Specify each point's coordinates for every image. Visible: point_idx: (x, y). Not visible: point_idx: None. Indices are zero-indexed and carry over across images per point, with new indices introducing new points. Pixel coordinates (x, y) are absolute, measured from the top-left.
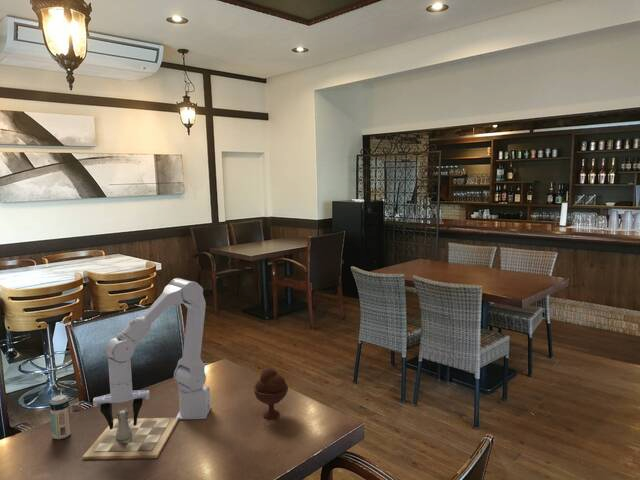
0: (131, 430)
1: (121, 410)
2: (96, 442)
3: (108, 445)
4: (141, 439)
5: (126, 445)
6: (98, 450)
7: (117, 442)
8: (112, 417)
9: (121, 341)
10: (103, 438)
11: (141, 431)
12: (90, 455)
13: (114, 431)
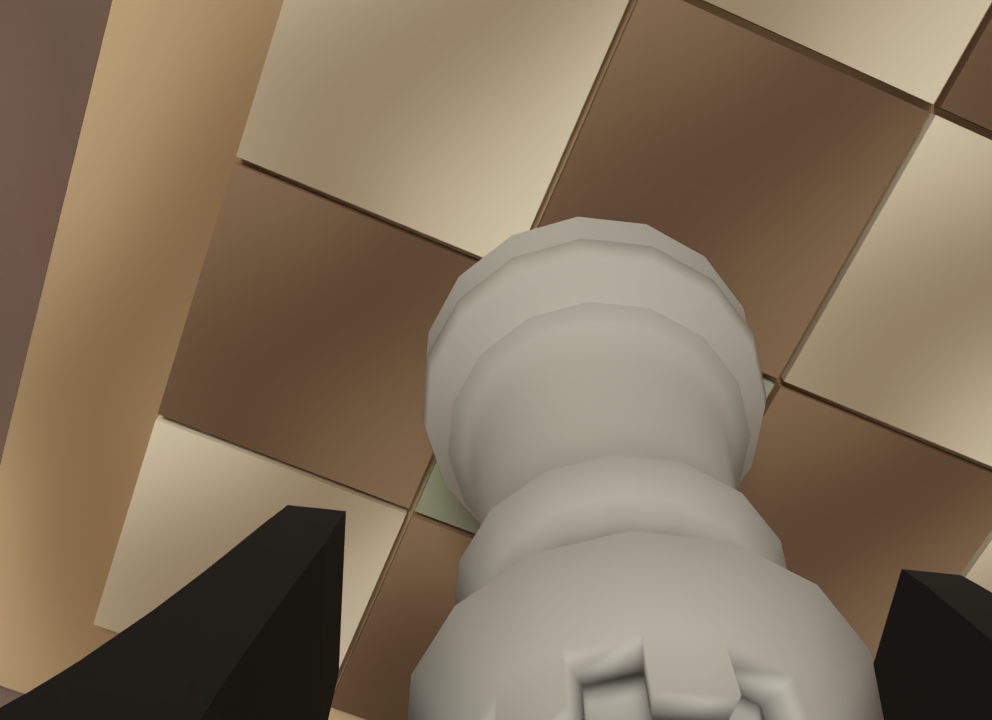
0: (758, 435)
1: (613, 659)
2: (77, 331)
3: None
4: (879, 595)
5: None
6: None
7: (463, 517)
8: (271, 640)
9: None
10: (187, 233)
11: (942, 302)
12: None
13: (387, 40)
